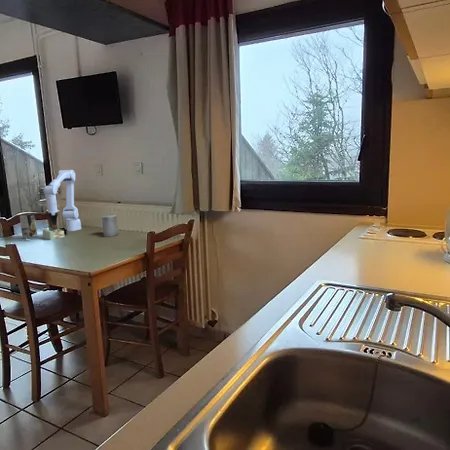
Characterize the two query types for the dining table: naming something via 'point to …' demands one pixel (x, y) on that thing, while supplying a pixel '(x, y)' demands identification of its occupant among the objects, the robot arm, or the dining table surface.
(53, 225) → the dowel
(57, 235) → the socket block
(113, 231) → the pillar candle
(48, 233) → the board
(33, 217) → the coffee box
